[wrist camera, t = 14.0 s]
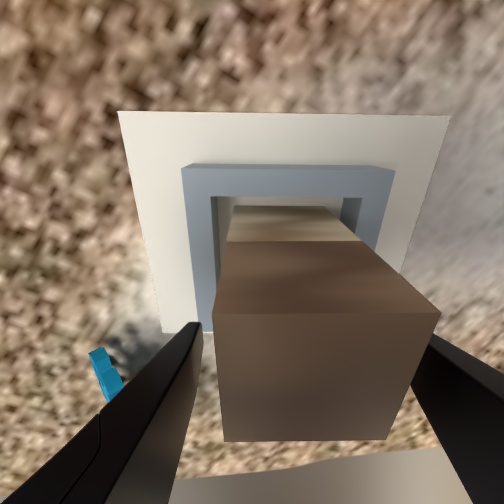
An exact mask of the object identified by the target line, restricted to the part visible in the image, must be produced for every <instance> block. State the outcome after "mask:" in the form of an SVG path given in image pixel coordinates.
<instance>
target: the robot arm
mask: <svg viewBox="0 0 504 504" xmlns="http://www.w3.org/2000/svg"><path fill="white" fill-rule="evenodd" d="M202 351H203V331H202V324H201V322H188V323H187V324H186V325H185V326H184V327H183V328H182V329H181V330H180V331H179V332H178V333H177V334H176V335H175V336H174V337H173V338H172V339H171V340H170V341H169V342H168V343H167V344H166V345H165V346H164V347H163V348H162V349H161V350H160V351H159V352H158V353H157V354H156V355H155V356H154V357H153V358H152V359H151V360H150V361H149V362H148V363H147V364H146V365H145V366H144V367H143V368H142V369H141V370H140V371H139V372H138V373H137V374H136V375H135V376H134V377H133V378H132V379H131V380H130V381H129V382H128V383H127V384H126V385H125V386H124V387H123V388H122V389H121V390H120V391H119V392H118V393H117V394H116V395H115V396H114V397H113V398H112V399H111V400H110V401H109V402H108V403H107V404H106V405H105V406H104V407H103V408H102V409H101V410H100V414H96V415H95V416H94V417H93V418H92V419H91V420H90V421H89V422H88V423H87V424H86V425H85V426H84V427H83V428H82V429H81V430H80V431H79V432H78V433H77V434H76V435H75V436H74V437H73V438H72V439H71V440H70V441H69V442H68V443H67V444H66V445H65V446H64V447H63V448H62V449H61V450H60V451H59V452H57V453H56V454H55V455H54V456H53V457H52V458H51V459H50V460H49V461H48V462H46V463H45V464H44V465H43V466H42V467H41V468H40V469H39V470H38V471H37V472H35V473H34V474H33V475H32V476H31V477H30V478H29V479H28V480H27V481H25V482H24V483H23V484H22V485H21V486H20V487H19V488H18V489H16V490H15V491H14V492H13V493H12V494H11V495H10V496H8V497H7V498H6V499H5V500H4V501H3V502H2V503H1V504H168V502H169V498H170V494H171V490H172V486H173V482H174V479H175V475H176V471H177V467H178V463H179V459H180V456H181V452H182V448H183V444H184V440H185V436H186V432H187V428H188V424H189V421H190V417H191V413H192V409H193V405H194V401H195V397H196V392H197V386H198V379H199V372H200V365H201V358H202ZM410 386H411V388H412V390H413V392H414V394H415V396H416V398H417V400H418V402H419V404H420V406H421V408H422V409H423V411H424V413H425V415H426V417H427V419H428V421H429V423H430V424H431V426H432V428H433V430H434V432H435V434H436V436H437V437H438V439H439V441H440V443H441V445H442V447H443V449H444V450H445V452H446V454H447V456H448V458H449V459H450V462H451V463H452V465H453V467H454V469H455V471H456V472H457V474H458V476H459V478H460V480H461V482H462V484H463V485H464V487H465V490H466V491H467V493H468V495H469V497H470V499H471V501H472V502H473V504H504V374H503V373H501V372H500V371H498V370H496V369H494V368H493V367H491V366H489V365H487V364H486V363H484V362H482V361H481V360H479V359H477V358H475V357H474V356H472V355H470V354H468V353H467V352H465V351H463V350H461V349H460V348H458V347H456V346H454V345H453V344H451V343H449V342H447V341H446V340H444V339H442V338H440V337H439V336H437V335H435V334H433V333H432V336H431V338H430V340H429V343H428V345H427V347H426V349H425V352H424V354H423V356H422V359H421V361H420V363H419V365H418V368H417V370H416V372H415V375H414V377H413V379H412V381H411V384H410Z"/></svg>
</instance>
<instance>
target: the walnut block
mask: <svg viewBox="0 0 504 504" xmlns="http://www.w3.org/2000/svg"><path fill="white" fill-rule="evenodd" d="M441 313H442V312H440V311H439V310H438V309H437V308H436V307H435V306H434V305H433V304H432V303H430V302H429V301H428V300H427V299H426V298H425V297H424V296H423V295H422V294H421V293H419V292H418V291H417V290H416V289H415V288H414V287H413V286H412V285H411V284H410V283H408V282H407V281H406V280H405V279H404V278H403V277H402V276H401V275H400V274H399V273H397V272H396V271H395V270H394V269H393V268H392V267H391V266H390V265H389V264H388V263H386V262H385V261H384V260H383V259H382V258H381V257H380V256H379V255H378V254H377V253H375V252H374V251H373V250H372V249H371V248H370V247H369V246H368V245H367V244H365V243H364V242H363V241H244V242H227V246H226V251H225V255H224V260H223V264H222V269H221V274H220V278H219V283H218V287H217V292H216V296H215V301H214V306H213V310H212V324H213V334H214V344H215V354H216V364H217V374H218V384H219V395H220V405H221V415H222V425H223V435H224V442H258V441H352V440H386V439H387V436H388V434H389V432H390V429H391V427H392V425H393V423H394V420H395V418H396V416H397V413H398V411H399V409H400V407H401V404H402V402H403V400H404V397H405V395H406V393H407V391H408V388H409V386H410V384H411V381H412V379H413V377H414V375H415V372H416V370H417V368H418V365H419V363H420V361H421V359H422V356H423V354H424V352H425V349H426V347H427V345H428V343H429V340H430V338H431V336H432V333H433V331H434V329H435V327H436V324H437V322H438V320H439V317H440V315H441Z"/></svg>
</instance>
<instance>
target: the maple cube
mask: <svg viewBox="0 0 504 504" xmlns="http://www.w3.org/2000/svg"><path fill="white" fill-rule="evenodd" d="M244 241H361V240H360V239H359V238H358V237H357V236H356V235H355V234H354V233H353V232H352V231H350V230H349V229H348V228H347V227H346V226H345V225H344V224H343V223H342V222H341V221H340V220H338V219H337V218H336V217H335V216H334V215H333V214H332V213H331V212H330V211H329V210H328V209H326V208H325V207H324V206H259V205H234V209H233V213H232V218H231V222H230V226H229V230H228V235H227V239H226V245H227V242H244Z"/></svg>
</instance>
